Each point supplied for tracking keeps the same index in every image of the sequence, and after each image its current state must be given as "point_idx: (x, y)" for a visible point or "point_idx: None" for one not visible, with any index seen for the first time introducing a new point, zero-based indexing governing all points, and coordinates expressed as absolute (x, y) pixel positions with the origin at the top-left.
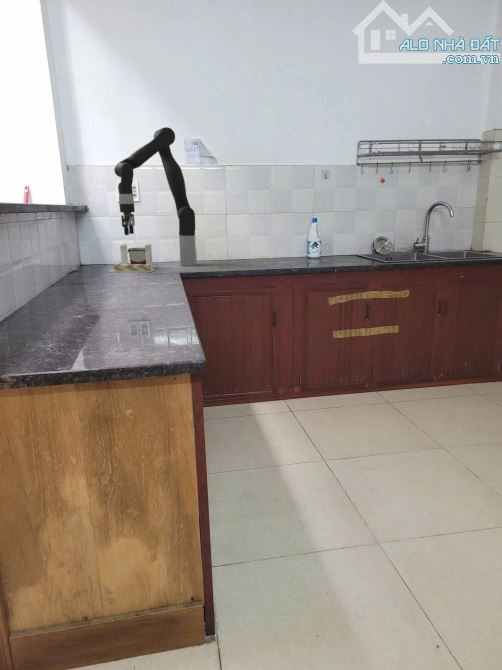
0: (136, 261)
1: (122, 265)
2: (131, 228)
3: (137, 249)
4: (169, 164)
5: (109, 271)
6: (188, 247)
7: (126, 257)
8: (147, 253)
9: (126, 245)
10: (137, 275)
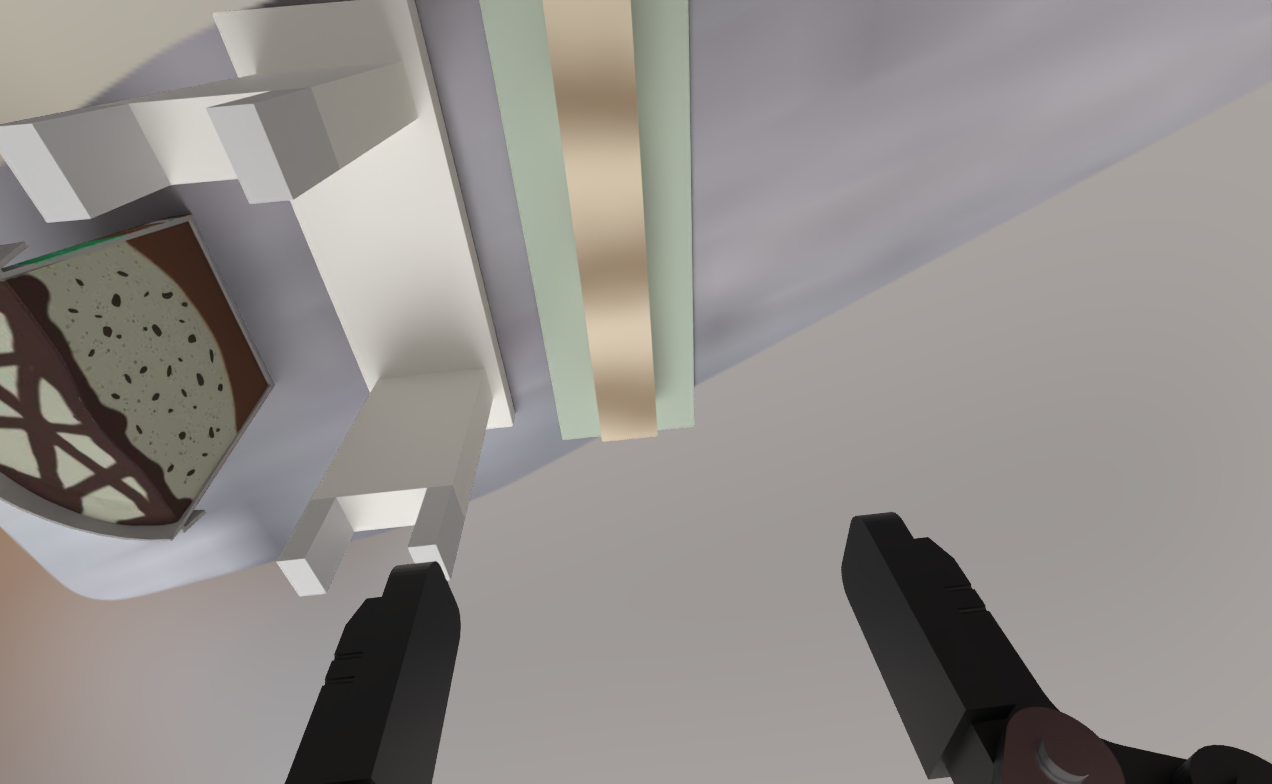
0: (217, 355)
1: (651, 348)
2: (407, 739)
3: (32, 450)
4: None
5: (693, 415)
6: None
7: (399, 430)
8: (342, 115)
9: (300, 548)
10: (939, 33)
